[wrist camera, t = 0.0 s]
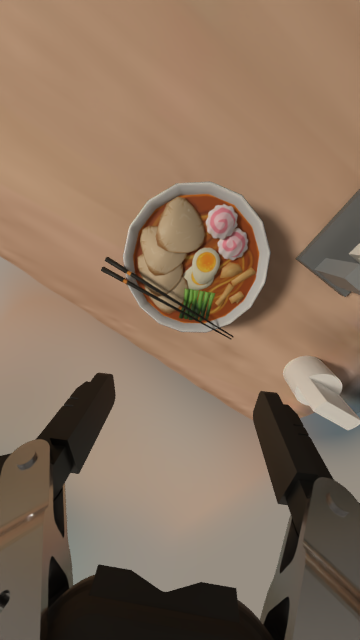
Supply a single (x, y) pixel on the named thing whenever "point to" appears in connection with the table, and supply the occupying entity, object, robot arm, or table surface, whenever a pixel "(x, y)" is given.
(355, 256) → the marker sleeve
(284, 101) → the table surface
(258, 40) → the table surface
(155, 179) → the table surface
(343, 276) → the cable comb fixture
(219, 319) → the ramen bowl
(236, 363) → the table surface
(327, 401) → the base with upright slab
